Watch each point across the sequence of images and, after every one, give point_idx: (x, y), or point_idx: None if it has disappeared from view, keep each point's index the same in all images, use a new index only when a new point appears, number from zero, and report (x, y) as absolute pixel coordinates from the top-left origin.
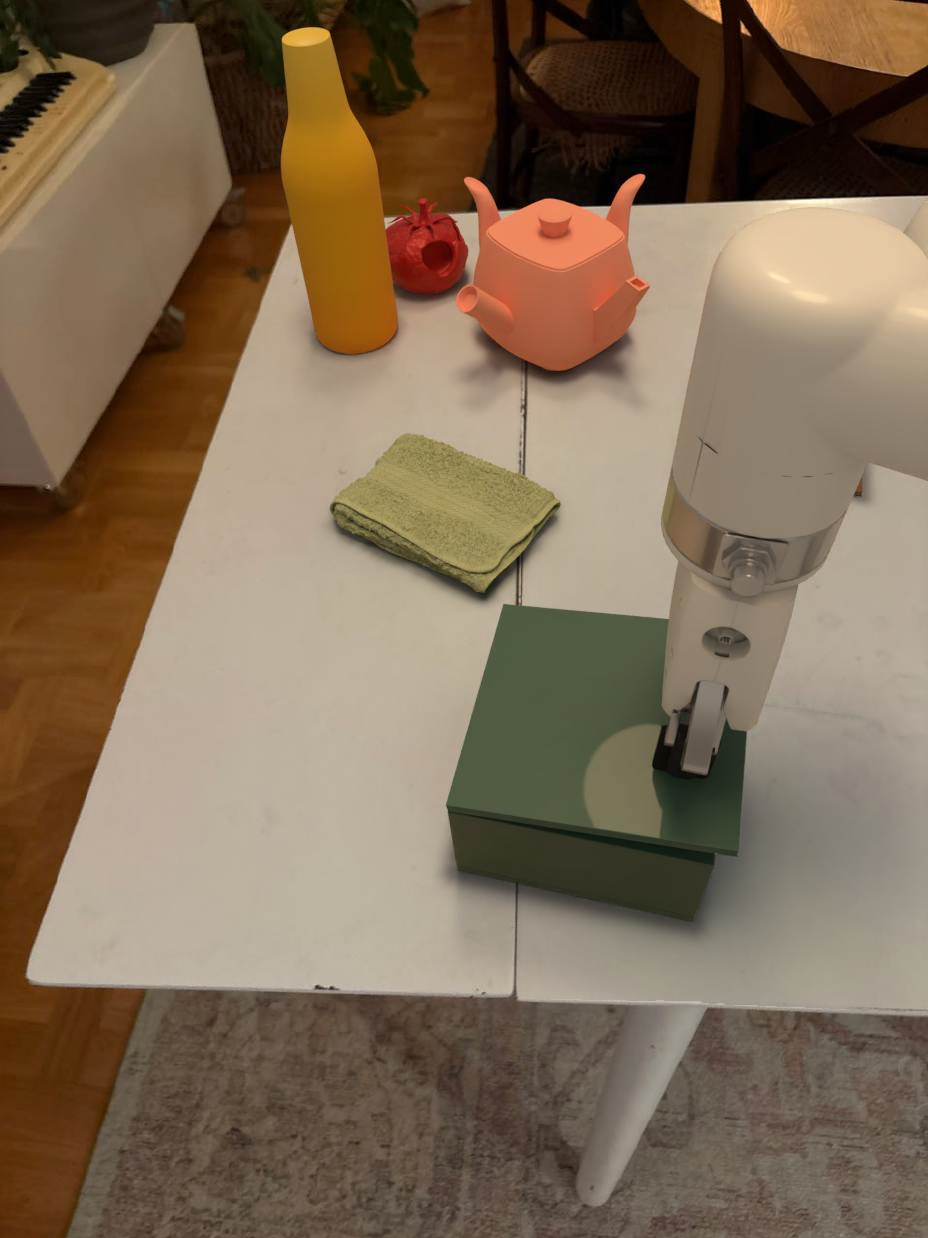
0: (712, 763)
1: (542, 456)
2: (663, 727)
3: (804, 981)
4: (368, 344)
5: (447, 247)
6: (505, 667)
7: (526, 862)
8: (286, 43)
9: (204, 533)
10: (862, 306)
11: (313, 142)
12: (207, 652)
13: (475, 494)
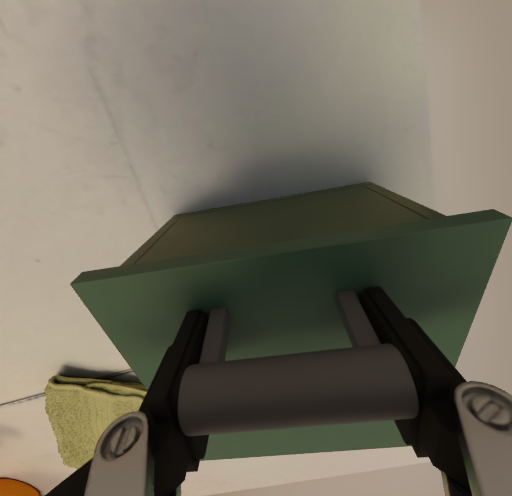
0: (403, 316)
1: (18, 388)
2: (422, 455)
3: (407, 65)
4: (18, 491)
5: None
6: (268, 447)
7: None
8: None
9: (202, 491)
10: None
11: None
12: (272, 468)
13: (87, 428)
